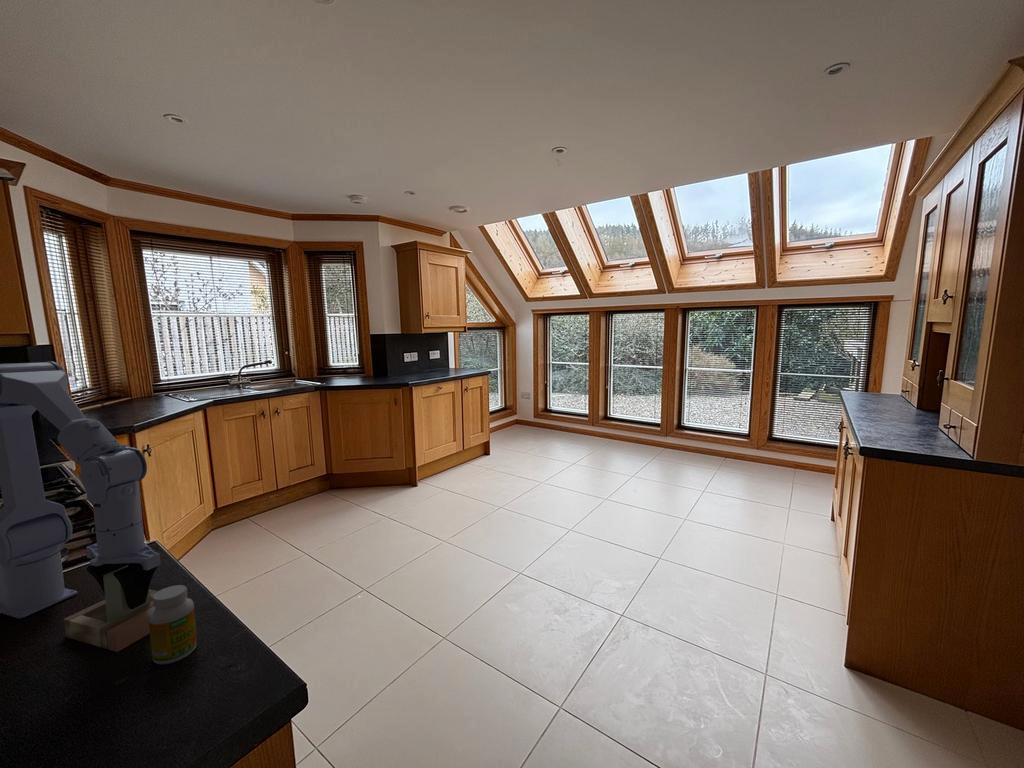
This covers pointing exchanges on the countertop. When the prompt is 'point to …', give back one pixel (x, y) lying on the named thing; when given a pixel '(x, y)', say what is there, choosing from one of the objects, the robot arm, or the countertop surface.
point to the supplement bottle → (172, 625)
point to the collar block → (97, 623)
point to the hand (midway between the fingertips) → (127, 603)
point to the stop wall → (129, 631)
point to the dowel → (116, 598)
